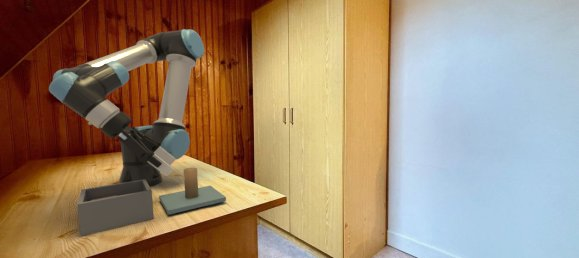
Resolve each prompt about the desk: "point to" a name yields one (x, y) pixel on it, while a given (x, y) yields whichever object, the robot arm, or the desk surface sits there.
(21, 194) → the desk surface
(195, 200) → the lid
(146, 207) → the storage box
